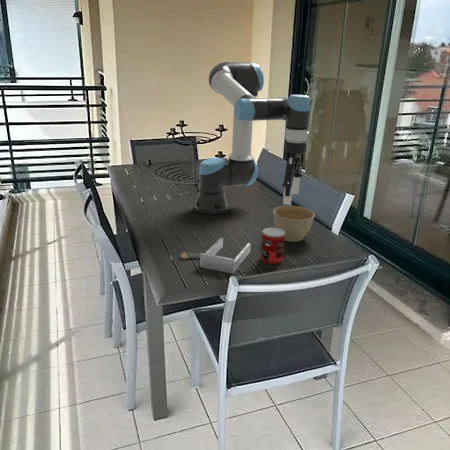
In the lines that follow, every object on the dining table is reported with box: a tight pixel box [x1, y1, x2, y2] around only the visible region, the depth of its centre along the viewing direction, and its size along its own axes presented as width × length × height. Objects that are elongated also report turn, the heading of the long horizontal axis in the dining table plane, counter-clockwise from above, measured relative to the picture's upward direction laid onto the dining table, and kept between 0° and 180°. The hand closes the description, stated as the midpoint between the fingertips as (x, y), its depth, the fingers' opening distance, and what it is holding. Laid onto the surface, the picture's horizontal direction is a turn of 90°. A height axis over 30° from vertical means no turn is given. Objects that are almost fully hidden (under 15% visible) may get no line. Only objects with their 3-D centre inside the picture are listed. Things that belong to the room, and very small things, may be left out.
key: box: [180, 252, 202, 260], centre depth 162 cm, size 8×3×1 cm, turn 94°
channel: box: [199, 237, 252, 274], centre depth 161 cm, size 12×19×5 cm, turn 159°
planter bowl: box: [272, 205, 315, 243], centre depth 180 cm, size 16×16×11 cm
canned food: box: [260, 227, 285, 265], centre depth 161 cm, size 8×8×11 cm
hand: (290, 199), depth 165 cm, fingers open, 13 cm apart
